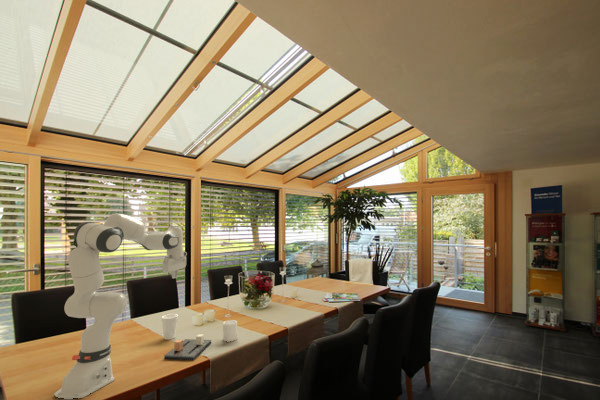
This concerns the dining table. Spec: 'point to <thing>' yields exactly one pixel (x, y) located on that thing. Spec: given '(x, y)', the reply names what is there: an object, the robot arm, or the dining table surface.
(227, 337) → the cup
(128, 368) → the dining table surface
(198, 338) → the block
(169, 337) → the foam cup
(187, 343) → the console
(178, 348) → the block
